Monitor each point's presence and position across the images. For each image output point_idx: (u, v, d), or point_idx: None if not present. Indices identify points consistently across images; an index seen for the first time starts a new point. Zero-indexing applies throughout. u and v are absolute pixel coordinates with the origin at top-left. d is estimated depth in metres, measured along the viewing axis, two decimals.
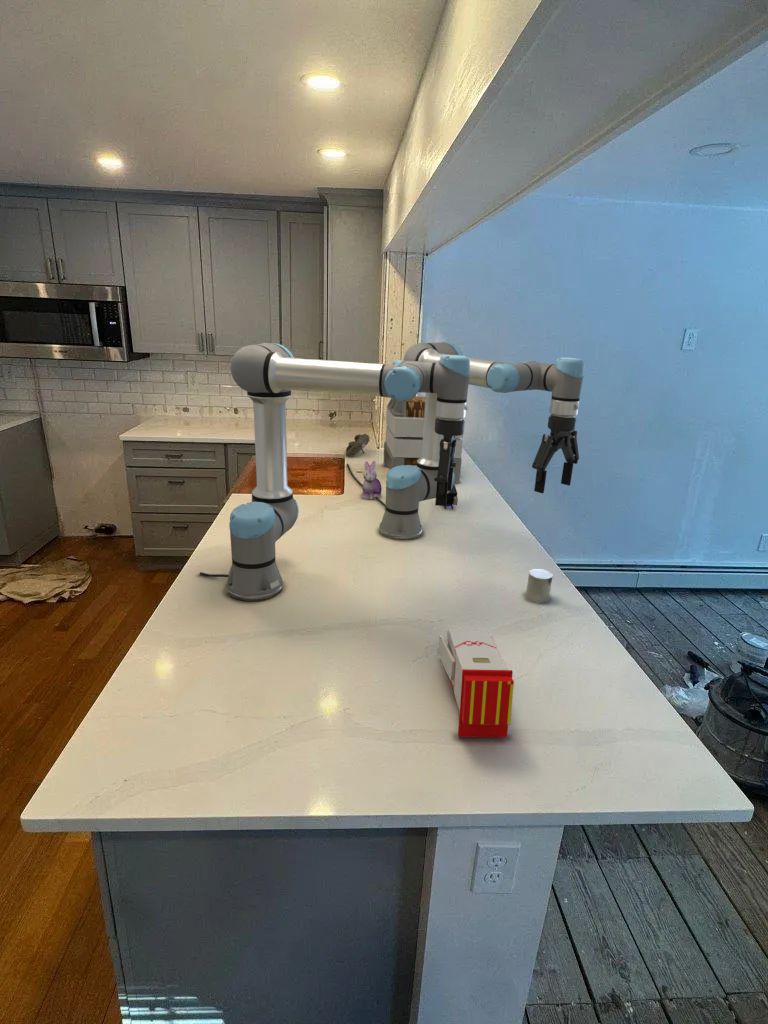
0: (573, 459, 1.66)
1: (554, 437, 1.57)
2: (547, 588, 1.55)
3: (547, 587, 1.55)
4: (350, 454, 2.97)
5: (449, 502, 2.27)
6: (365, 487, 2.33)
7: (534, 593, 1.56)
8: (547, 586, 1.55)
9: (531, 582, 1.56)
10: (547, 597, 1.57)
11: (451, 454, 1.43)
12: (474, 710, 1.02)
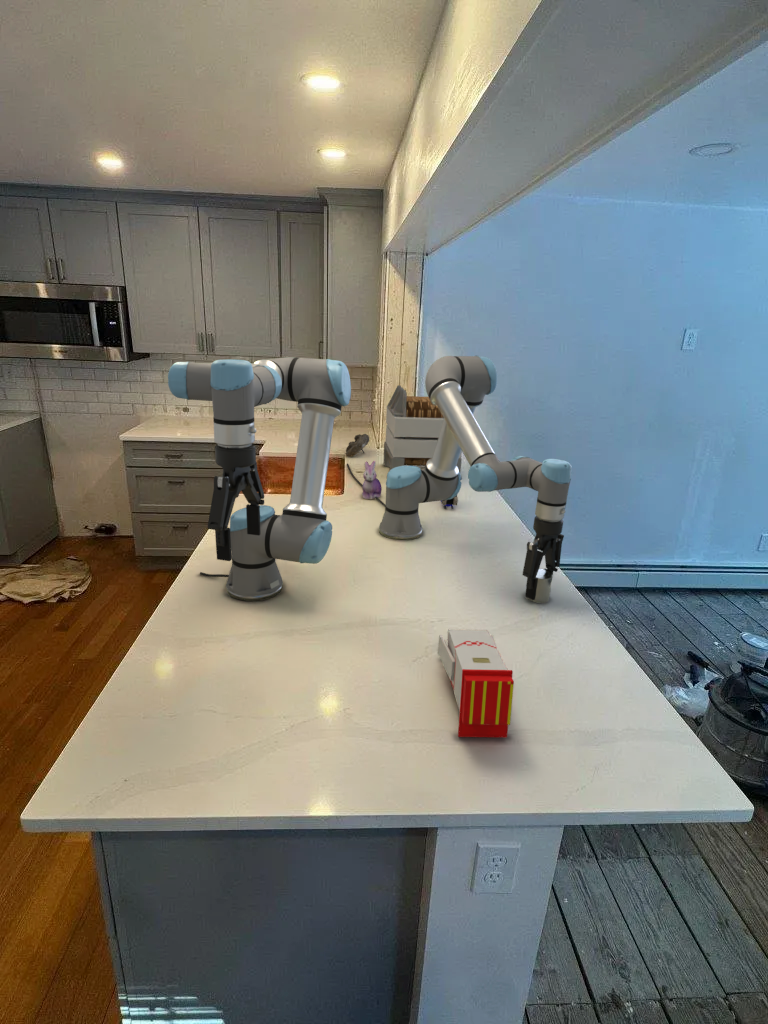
0: (554, 566, 1.58)
1: (539, 542, 1.50)
2: (547, 588, 1.55)
3: (547, 587, 1.55)
4: (350, 454, 2.97)
5: (449, 502, 2.27)
6: (365, 487, 2.33)
7: None
8: (547, 586, 1.55)
9: None
10: (547, 597, 1.57)
11: (235, 492, 1.07)
12: (474, 710, 1.02)
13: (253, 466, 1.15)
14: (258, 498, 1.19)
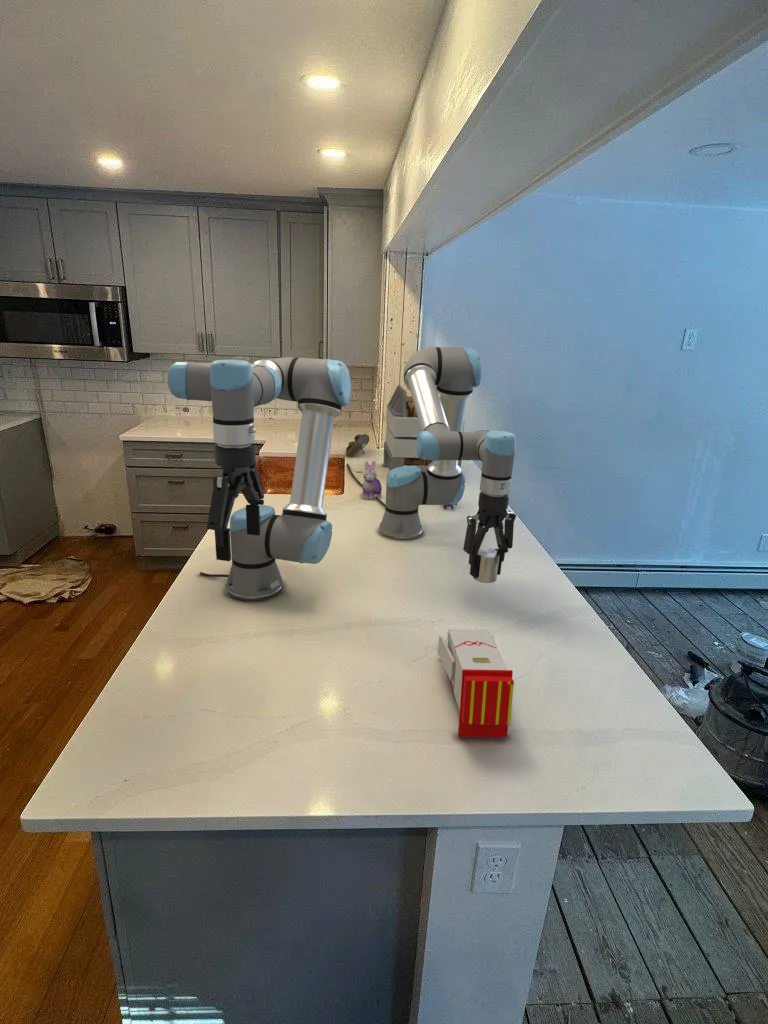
0: (503, 546, 1.50)
1: (480, 517, 1.44)
2: (490, 567, 1.48)
3: (491, 566, 1.48)
4: (350, 454, 2.97)
5: None
6: (365, 487, 2.33)
7: (478, 571, 1.50)
8: (491, 565, 1.48)
9: None
10: (492, 577, 1.49)
11: (234, 492, 1.07)
12: (474, 710, 1.02)
13: (253, 466, 1.15)
14: (258, 498, 1.19)
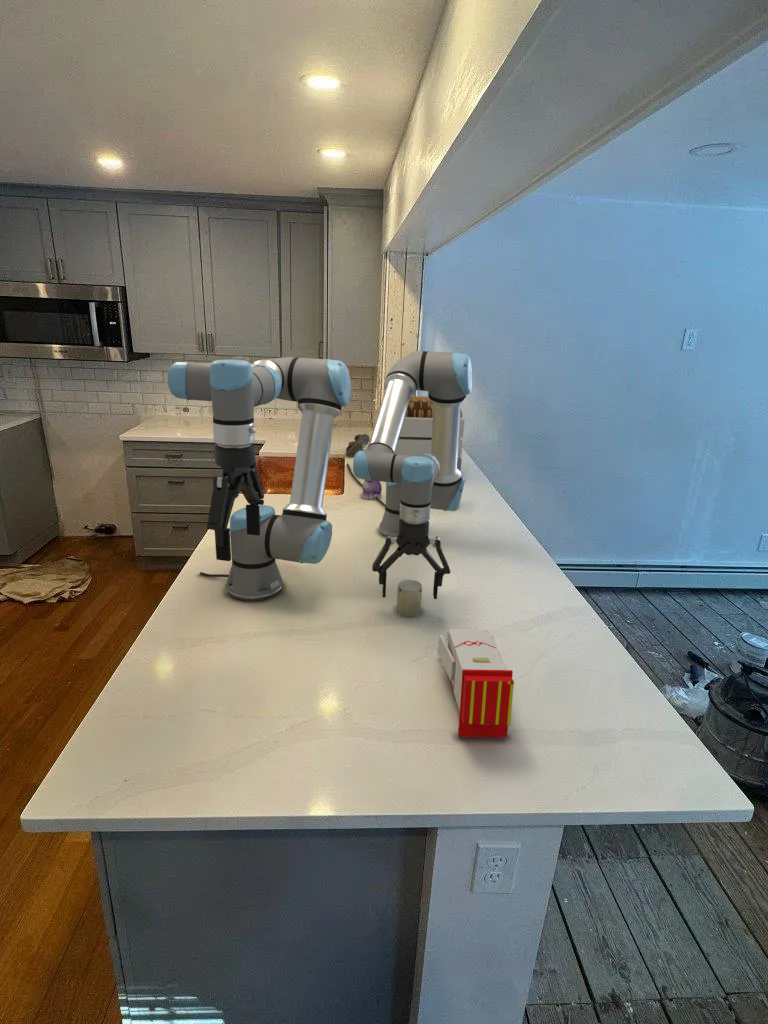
0: (438, 571, 1.44)
1: (396, 541, 1.42)
2: (407, 601, 1.45)
3: (407, 600, 1.45)
4: (350, 454, 2.97)
5: None
6: (365, 487, 2.33)
7: (397, 602, 1.48)
8: (408, 599, 1.45)
9: None
10: (410, 611, 1.46)
11: (234, 492, 1.07)
12: (474, 710, 1.02)
13: (253, 466, 1.15)
14: (258, 498, 1.19)
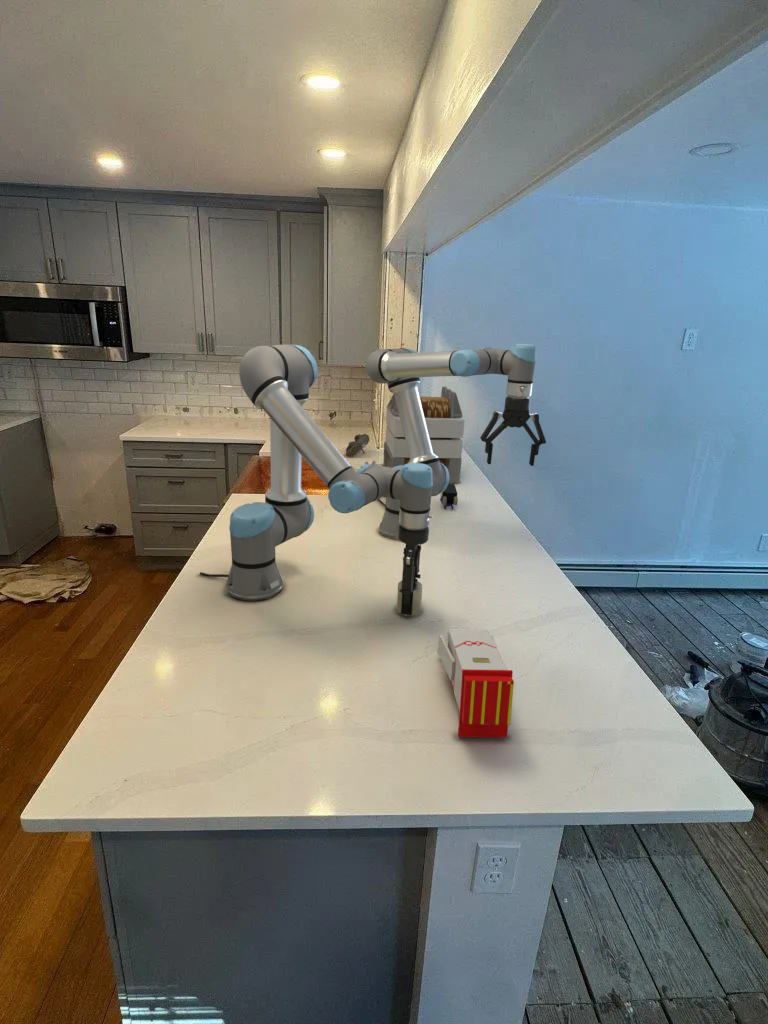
0: (536, 441, 1.77)
1: (503, 415, 1.74)
2: None
3: None
4: (350, 454, 2.97)
5: (449, 502, 2.27)
6: None
7: (397, 602, 1.48)
8: None
9: None
10: None
11: (415, 564, 1.42)
12: (474, 710, 1.02)
13: None
14: (417, 572, 1.50)
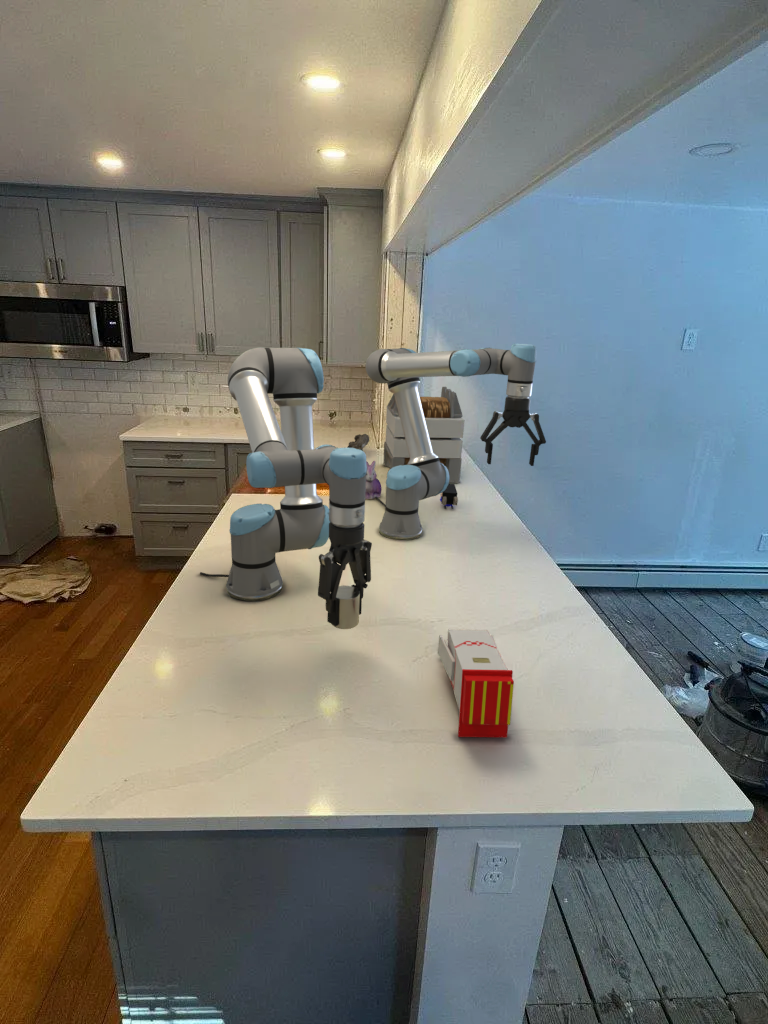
0: (536, 441, 1.77)
1: (503, 415, 1.74)
2: None
3: None
4: None
5: (449, 502, 2.27)
6: None
7: None
8: None
9: None
10: None
11: (340, 567, 1.20)
12: (474, 710, 1.02)
13: (367, 546, 1.25)
14: (362, 580, 1.27)
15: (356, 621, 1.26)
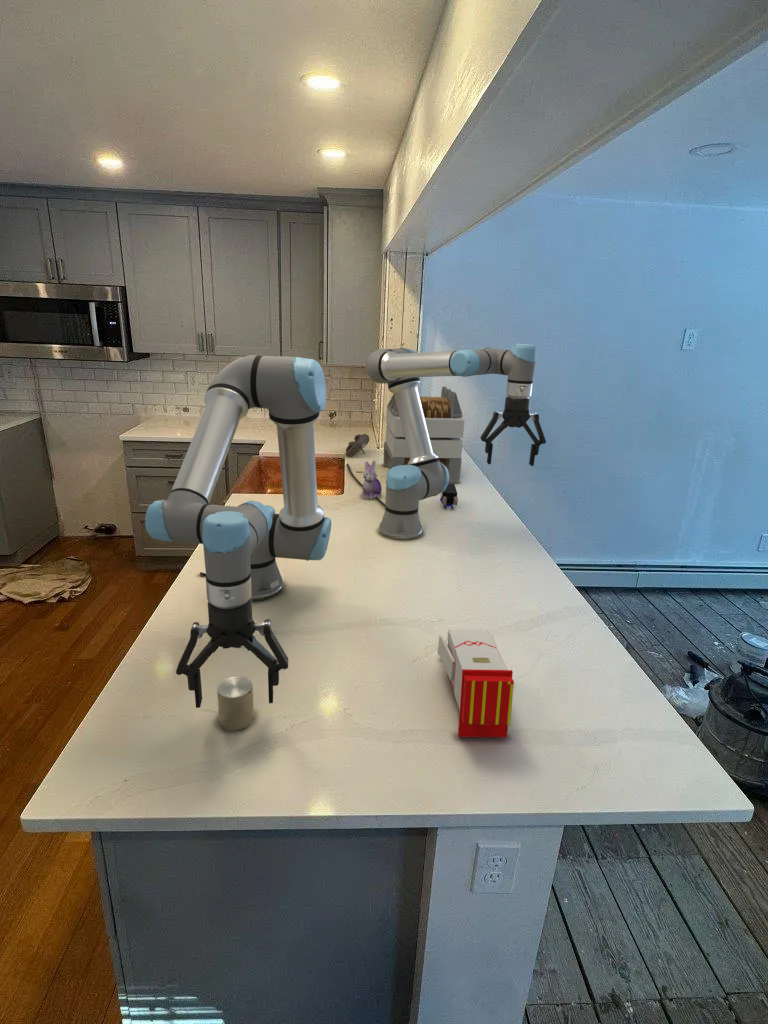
0: (536, 441, 1.77)
1: (503, 415, 1.74)
2: None
3: None
4: (350, 454, 2.97)
5: (449, 502, 2.27)
6: (365, 487, 2.33)
7: None
8: None
9: None
10: (219, 716, 1.06)
11: (209, 646, 1.00)
12: (474, 710, 1.02)
13: (263, 630, 1.01)
14: (271, 665, 1.04)
15: (238, 725, 1.05)
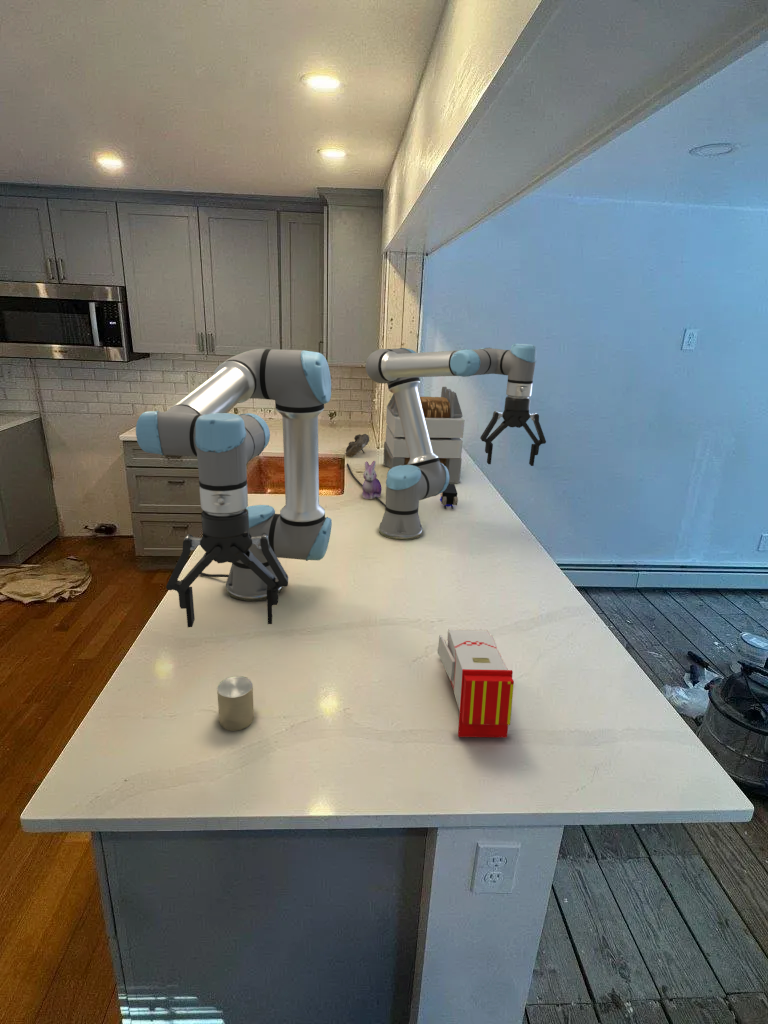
0: (536, 441, 1.77)
1: (503, 415, 1.74)
2: None
3: None
4: (350, 454, 2.97)
5: (449, 502, 2.27)
6: (365, 487, 2.33)
7: None
8: None
9: None
10: (219, 716, 1.06)
11: (203, 559, 0.94)
12: (474, 710, 1.02)
13: (260, 543, 0.95)
14: (270, 582, 0.98)
15: (238, 725, 1.05)
